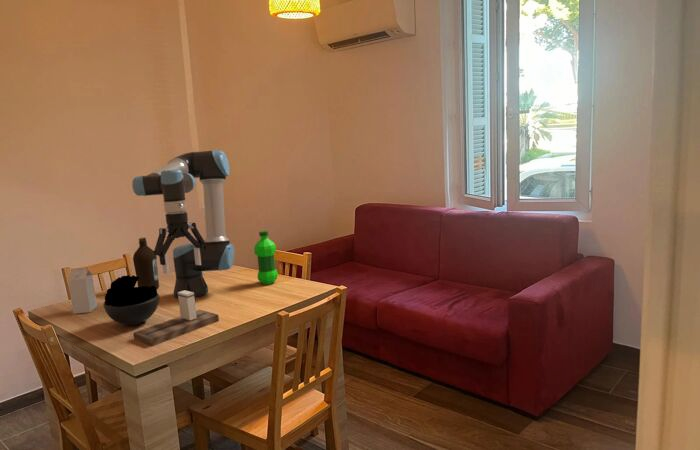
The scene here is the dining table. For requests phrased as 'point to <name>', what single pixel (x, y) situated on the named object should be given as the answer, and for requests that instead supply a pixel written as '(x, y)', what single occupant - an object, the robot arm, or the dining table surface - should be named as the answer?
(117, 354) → the dining table surface
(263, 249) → the plastic bottle
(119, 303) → the coal bowl
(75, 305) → the milk carton
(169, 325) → the dark brown wooden board
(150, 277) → the olive oil
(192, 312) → the fader tab
